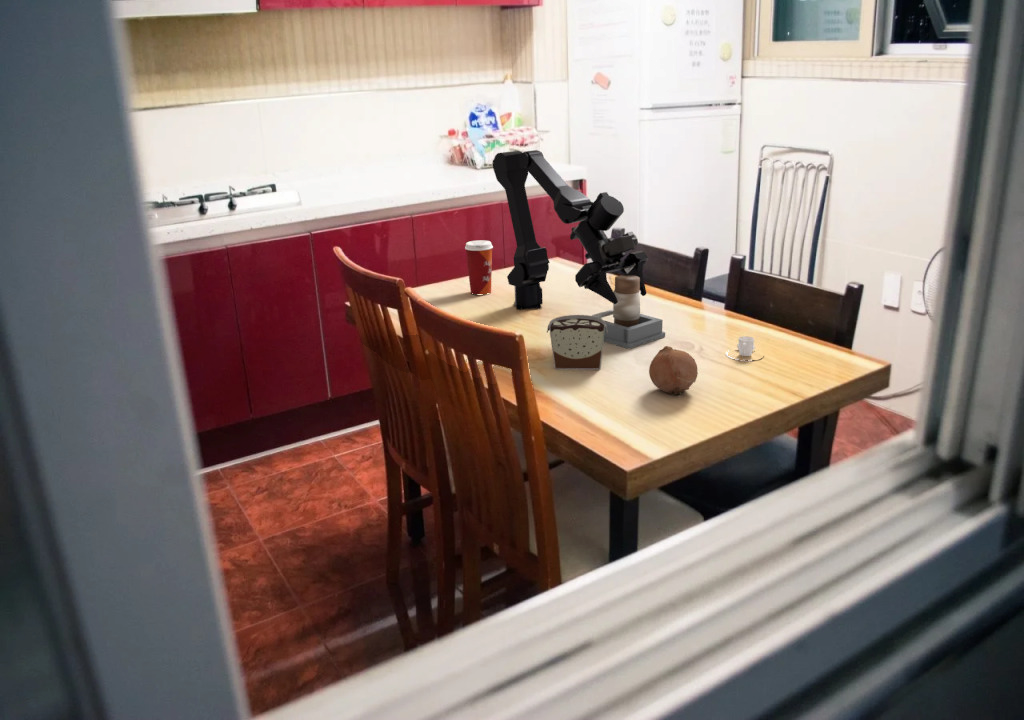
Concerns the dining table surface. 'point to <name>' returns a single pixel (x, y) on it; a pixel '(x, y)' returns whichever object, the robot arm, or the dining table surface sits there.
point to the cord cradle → (632, 331)
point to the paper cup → (479, 266)
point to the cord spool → (627, 300)
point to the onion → (673, 370)
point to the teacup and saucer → (744, 346)
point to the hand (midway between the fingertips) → (630, 299)
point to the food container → (577, 341)
